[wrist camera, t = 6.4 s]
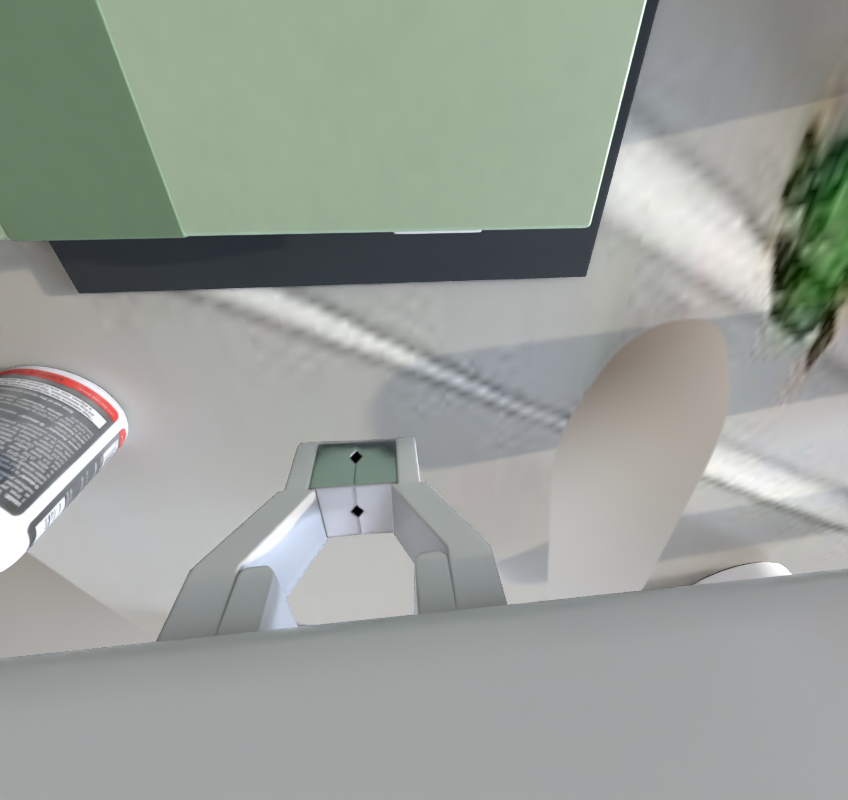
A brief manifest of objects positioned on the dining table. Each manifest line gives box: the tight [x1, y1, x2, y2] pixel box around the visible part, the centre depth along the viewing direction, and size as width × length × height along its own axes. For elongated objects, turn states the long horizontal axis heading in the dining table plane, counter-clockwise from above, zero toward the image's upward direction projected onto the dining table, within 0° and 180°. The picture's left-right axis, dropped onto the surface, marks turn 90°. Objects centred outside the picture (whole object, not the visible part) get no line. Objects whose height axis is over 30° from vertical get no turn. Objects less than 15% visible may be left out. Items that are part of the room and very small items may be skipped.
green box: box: [0, 0, 647, 241], centre depth 8 cm, size 6×12×8 cm, turn 90°
